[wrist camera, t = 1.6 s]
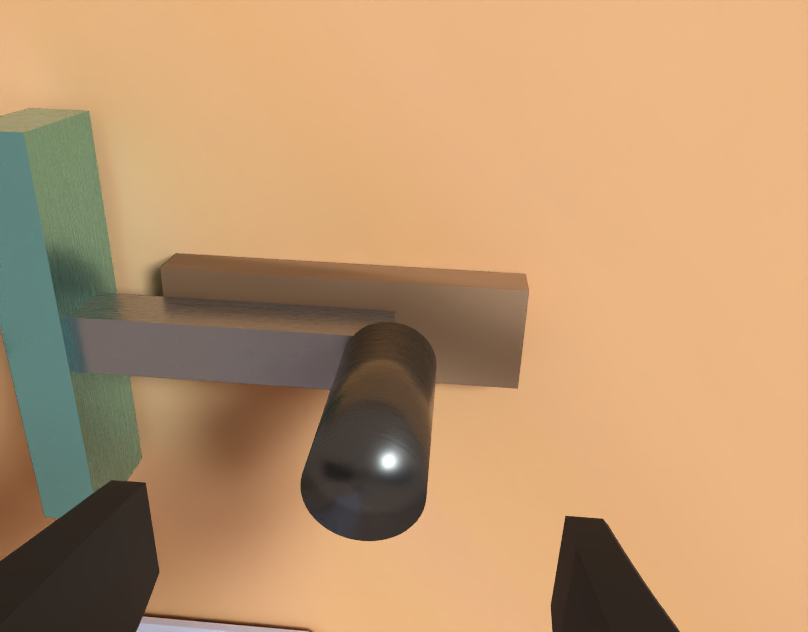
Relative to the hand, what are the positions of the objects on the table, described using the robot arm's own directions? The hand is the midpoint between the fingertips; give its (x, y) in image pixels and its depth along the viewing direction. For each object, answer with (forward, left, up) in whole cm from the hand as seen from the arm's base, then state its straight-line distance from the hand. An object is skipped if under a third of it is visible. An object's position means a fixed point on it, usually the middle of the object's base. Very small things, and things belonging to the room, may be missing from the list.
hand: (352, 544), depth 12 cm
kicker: (0, +5, -9) cm, 10 cm away
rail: (0, +2, -9) cm, 10 cm away
